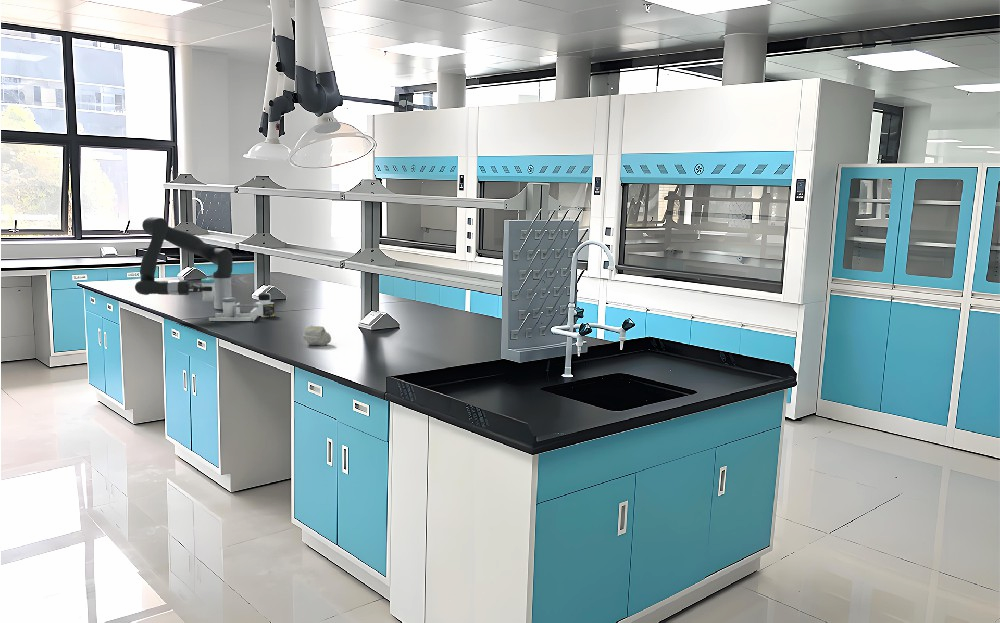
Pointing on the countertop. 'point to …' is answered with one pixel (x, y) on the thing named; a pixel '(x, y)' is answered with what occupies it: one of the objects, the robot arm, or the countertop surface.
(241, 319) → the lane
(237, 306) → the follower
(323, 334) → the grey lumpy stone
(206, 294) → the jar
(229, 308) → the stock jar
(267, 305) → the medicine bottle
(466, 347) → the countertop surface
